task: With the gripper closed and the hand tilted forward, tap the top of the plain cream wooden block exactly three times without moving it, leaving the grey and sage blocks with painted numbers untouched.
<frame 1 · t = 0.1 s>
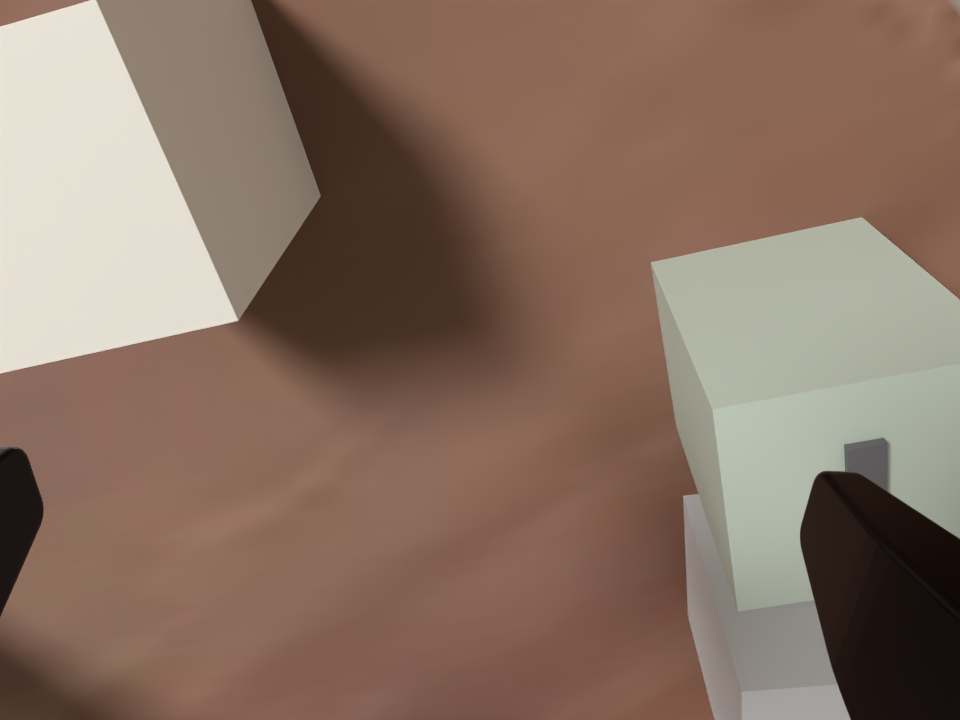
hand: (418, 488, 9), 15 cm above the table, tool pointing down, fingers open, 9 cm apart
grey marked block: (769, 550, 29), on the table
sage marked block: (761, 329, 24), on the table
plain cream block: (181, 117, 22), on the table
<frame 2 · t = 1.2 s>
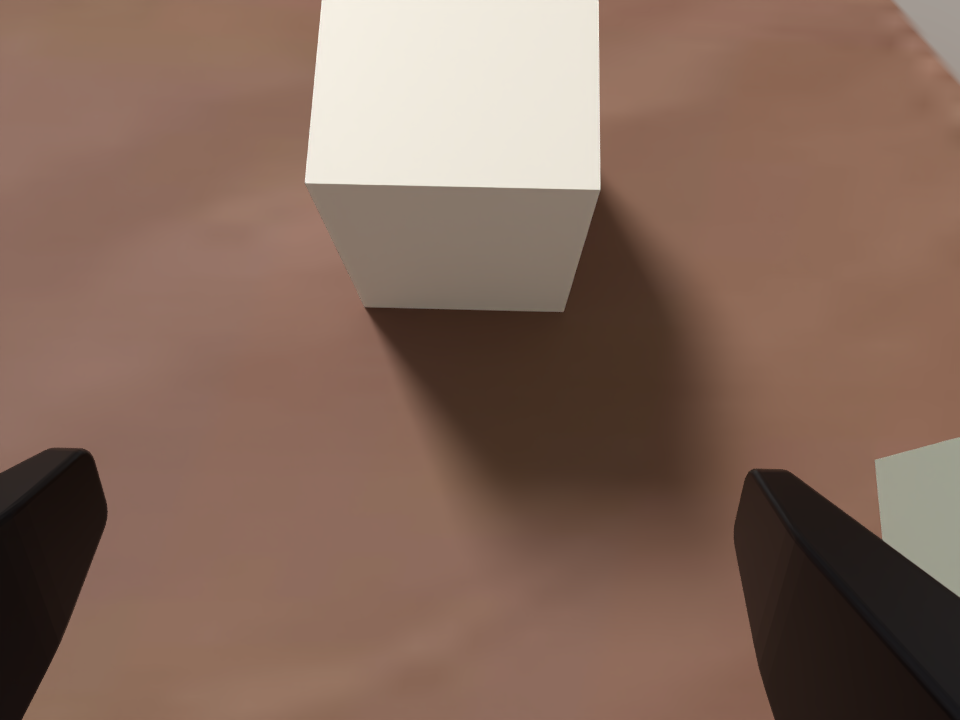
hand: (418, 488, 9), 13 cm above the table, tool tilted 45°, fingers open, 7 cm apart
plain cream block: (467, 218, 24), on the table
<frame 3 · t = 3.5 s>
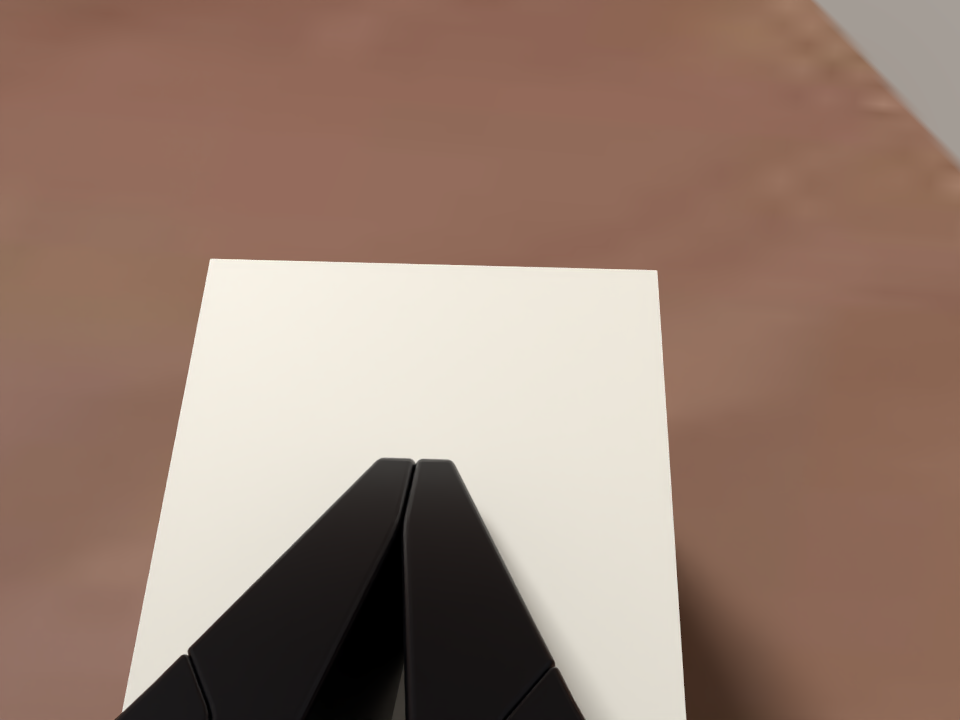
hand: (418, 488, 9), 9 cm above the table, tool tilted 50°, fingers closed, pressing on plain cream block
plain cream block: (447, 578, 17), on the table, tilted 5°, touching gripper
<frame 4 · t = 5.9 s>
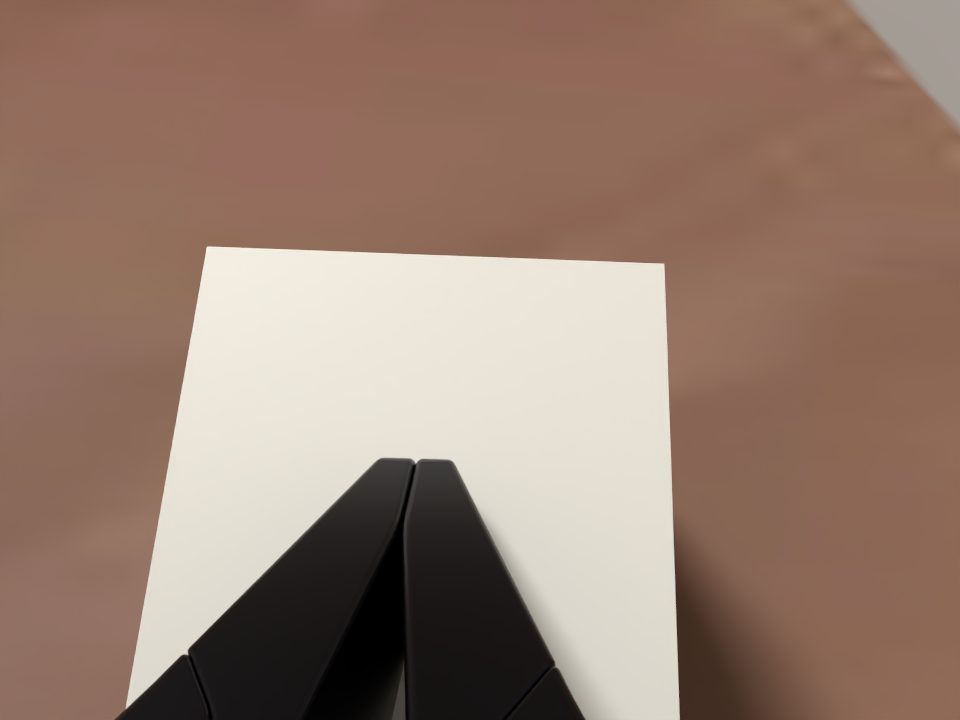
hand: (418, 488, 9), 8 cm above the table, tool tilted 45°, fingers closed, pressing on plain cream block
plain cream block: (448, 549, 17), on the table, touching gripper
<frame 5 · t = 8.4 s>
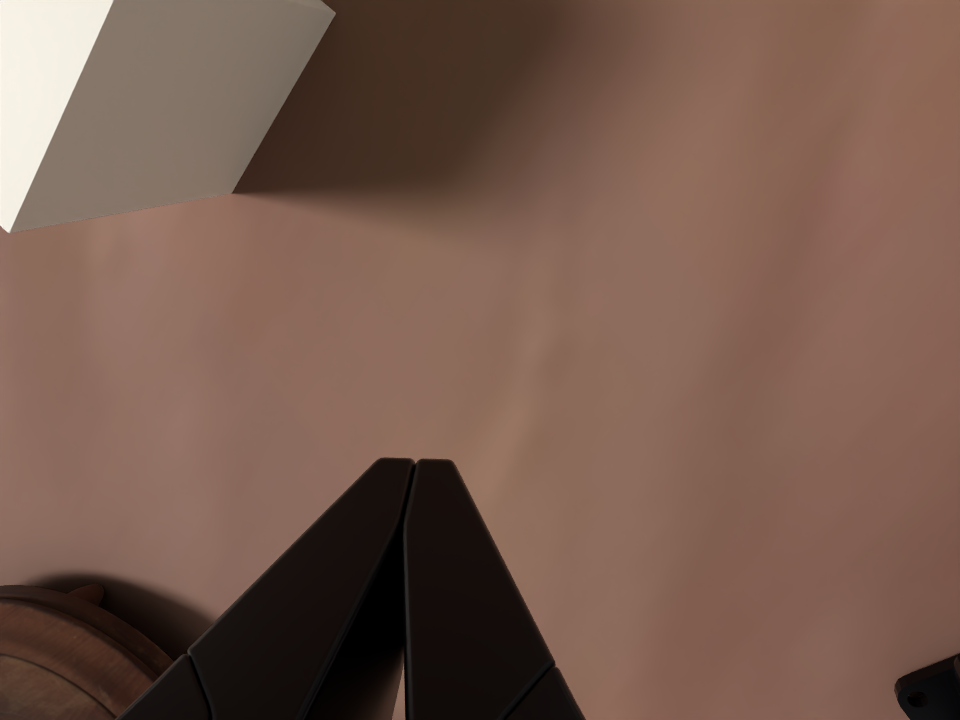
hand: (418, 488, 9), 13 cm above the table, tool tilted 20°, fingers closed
plain cream block: (199, 39, 22), on the table
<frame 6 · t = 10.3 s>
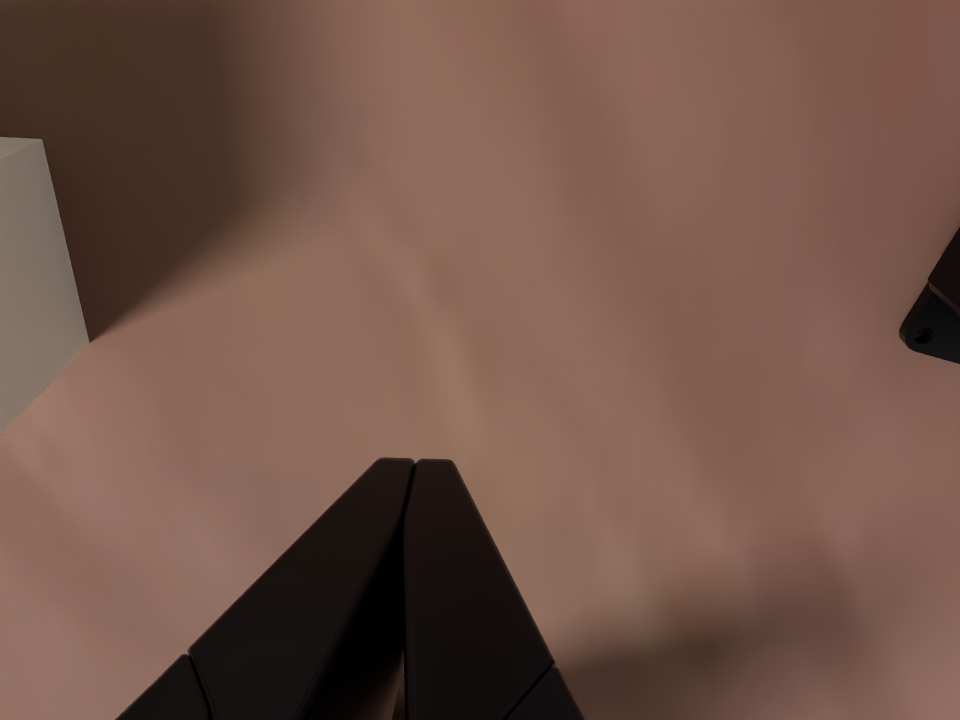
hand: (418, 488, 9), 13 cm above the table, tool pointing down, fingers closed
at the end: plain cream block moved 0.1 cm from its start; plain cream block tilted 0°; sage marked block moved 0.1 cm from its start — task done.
